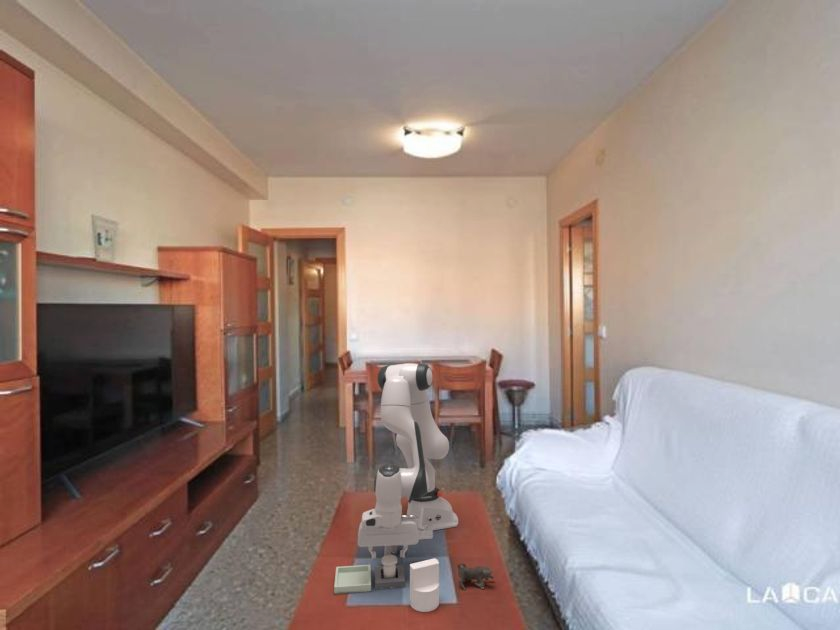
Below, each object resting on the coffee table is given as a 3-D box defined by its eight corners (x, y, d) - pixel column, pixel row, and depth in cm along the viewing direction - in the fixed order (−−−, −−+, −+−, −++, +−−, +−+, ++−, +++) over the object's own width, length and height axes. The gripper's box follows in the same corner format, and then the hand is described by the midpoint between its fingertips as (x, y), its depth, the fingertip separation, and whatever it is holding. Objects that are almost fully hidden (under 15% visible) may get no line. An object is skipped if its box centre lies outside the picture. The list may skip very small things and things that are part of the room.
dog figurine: (458, 590, 147) (458, 567, 147) (457, 580, 153) (457, 558, 153) (495, 591, 147) (495, 568, 147) (493, 580, 153) (493, 558, 152)
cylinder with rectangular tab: (416, 615, 135) (416, 574, 135) (405, 597, 144) (405, 559, 143) (444, 607, 139) (444, 568, 139) (431, 590, 147) (431, 553, 147)
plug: (396, 574, 156) (396, 554, 156) (397, 583, 151) (397, 562, 151) (381, 575, 155) (381, 555, 155) (381, 584, 150) (382, 563, 150)
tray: (370, 570, 158) (370, 564, 158) (371, 591, 146) (371, 584, 146) (336, 573, 157) (336, 566, 157) (334, 594, 145) (334, 587, 145)
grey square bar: (384, 542, 161) (384, 534, 161) (383, 538, 164) (383, 530, 164) (433, 539, 164) (433, 531, 164) (431, 535, 166) (431, 527, 166)
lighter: (385, 552, 170) (385, 531, 170) (386, 550, 172) (386, 528, 171) (404, 553, 169) (404, 532, 169) (404, 551, 171) (404, 530, 170)
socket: (400, 559, 165) (401, 538, 165) (405, 587, 149) (405, 563, 149) (374, 561, 164) (374, 539, 164) (375, 589, 148) (375, 565, 148)
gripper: (418, 510, 157) (418, 551, 157) (358, 513, 155) (357, 554, 155) (420, 519, 151) (420, 561, 151) (357, 521, 148) (357, 564, 148)
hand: (388, 557), depth 153 cm, fingers open, 8 cm apart
